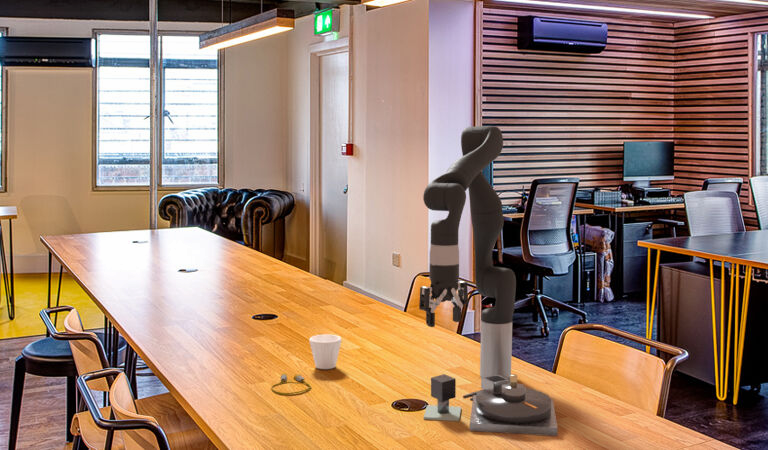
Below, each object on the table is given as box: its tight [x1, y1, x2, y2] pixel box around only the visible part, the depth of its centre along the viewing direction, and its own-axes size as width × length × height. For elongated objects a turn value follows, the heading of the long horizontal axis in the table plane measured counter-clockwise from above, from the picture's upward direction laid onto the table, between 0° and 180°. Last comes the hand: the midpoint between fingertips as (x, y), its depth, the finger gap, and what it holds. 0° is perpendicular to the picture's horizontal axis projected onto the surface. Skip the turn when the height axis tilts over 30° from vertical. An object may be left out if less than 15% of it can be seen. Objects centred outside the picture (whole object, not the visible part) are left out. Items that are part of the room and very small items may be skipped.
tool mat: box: [423, 404, 462, 422], centre depth 203 cm, size 9×9×1 cm
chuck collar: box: [476, 373, 552, 423], centre depth 200 cm, size 20×19×9 cm
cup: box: [308, 333, 342, 371], centre depth 243 cm, size 10×10×9 cm
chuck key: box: [430, 373, 457, 414], centre depth 202 cm, size 4×4×9 cm
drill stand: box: [469, 395, 559, 437], centre depth 200 cm, size 21×21×2 cm
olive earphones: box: [270, 373, 312, 396], centre depth 225 cm, size 12×16×2 cm
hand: (443, 324), depth 200 cm, fingers open, 8 cm apart
